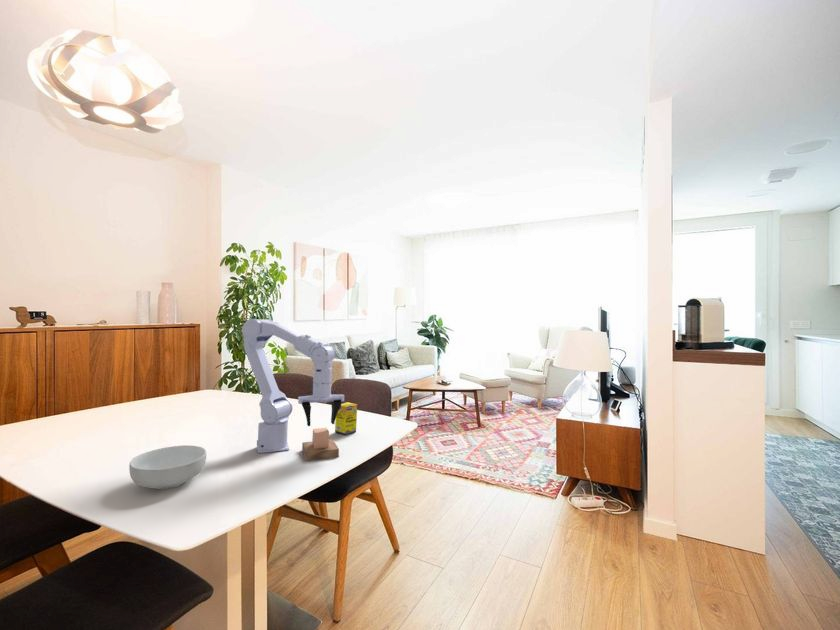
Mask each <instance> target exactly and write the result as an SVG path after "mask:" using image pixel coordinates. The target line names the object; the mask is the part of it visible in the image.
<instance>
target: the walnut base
mask: <svg viewBox="0 0 840 630" xmlns="http://www.w3.org/2000/svg"><path fill="white" fill-rule="evenodd" d="M301 444H302V446H301V451H302V453H303V456H304V459H305V461H307V462H308V461H316V460H323V459H331V458H338V457H339V456H340V454H339V452H340V449H339V447H338V445H337V444H336V442H335V441H334V439H329V447H325V448H316V449H314V447H313V445H312V441H306V442H302V443H301ZM339 458H340V457H339Z"/></svg>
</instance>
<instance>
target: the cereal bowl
mask: <svg viewBox="0 0 840 630" xmlns="http://www.w3.org/2000/svg"><path fill="white" fill-rule="evenodd" d="M206 461H207V450H206V448H205V447H202V446H198V445H175V446H174V445H173V446H168V447H167V446H166V447H161V448H157V449H153V450H149V451H145V452H143V453H140V454H139V455H137V456H135V457H133V458H132V459H131V460H130V461H129V470H128V471H129V476H130V479H131V480H132V482H133V483H135V484H136V485H138V486H140V487H144V488H149V489H150V488H151V489H154V490H168V489H174V488H176V487H179V486H181V485H183V484H185V483H186V482H187V481H190V480H192V479H193V478H195V477H196V476H197V475H199V474H200V473H201V472H202V470H203V469H204V467H205V465H206Z"/></svg>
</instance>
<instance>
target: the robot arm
mask: <svg viewBox="0 0 840 630" xmlns="http://www.w3.org/2000/svg"><path fill="white" fill-rule="evenodd" d="M241 332H242V335H243V337H244V338H243V347H244V348H243V349H244V352H245V355H246V357H247V359H248V362H249V365H250V367H251V370H252V373H253V375H254V378H255V380H256V383H257V386H258V389H259V391H260V394H261V395H262V396H261V397H262V398H261V400H260V401H259V407H260V417H261V419H262V421H263V422H259V423H258V425H257V426H258V429H257V439H256V446H257V453H258V454H262V453H263V454H264V453H272V452H273V453H274V452H280V451H289V450H290V447H289V443H288V431H289V430H288V429H289V428H288V427H289V426H288V425H289V417H290V415H291V414H292V412H293V404H292V402H291V400H289V399H288V397H287V396H286V394H285V393H284V392H283V391H281V390H280V389H279V386H278V384H277V382H276V381H277V380H276V379H275V376H274V373H273V370H272V368H271V366H270V363H269V361H268V358H267V355H266V353H265V350H264V347H265V345H266V344H267V343H268V341H269V340H270V339H271V338H272V337H273V336H275V337H276V338H279V339H281V340H282V341H286V342H287V343H289V344H292V345H293V348H294V350H295V351H297V352H299V353H301V354H302V355H304V356H306V357H307V358H309V359H310V360H311V362H312V363H313V381H312V382H313V383H312V394H310V395H304V396H303V395H302V396H298V398H297V399H298V400H297V401H298V404H299V405H301V406H302V409H303V411H304V414H305V419H306V425H307V427H311V410H312V409H311V408H312V406H311V404H312V403H330V402H331V416H330V423H331V424H332V425H335V421H336V415H337V413H338V411H339V409H340V407H341V405H342V402H345V394H340V393H339V394H332V377H333V376H332V373H333V370H332V369H333V360H334V359H335V358H336V351H335V348H334V347H332V345H329V344H325V345H324V344H323V342H322V341H317V340H315V339H313V338H311V337H312V335H310V334H301V335H298V334H297V333H295V332H293V331H292V330H289V329H288V328H286V327H285V326H283V325H281V324H280V323H278V322H277V321H274V320H272V319H270V318H265V319H261V318H260V319H259V318H258V319H257V318H249V319H247V320H246V321H245V322H244V324H243V326H242V327H241Z"/></svg>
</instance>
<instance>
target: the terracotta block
mask: <svg viewBox="0 0 840 630" xmlns="http://www.w3.org/2000/svg"><path fill="white" fill-rule="evenodd" d="M329 440H330V431H329V429H328V428H327V427H321V428H320V427H319V428H312V440H311V442H312V445H313V447H314V449H316V448H325V447H329Z"/></svg>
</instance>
